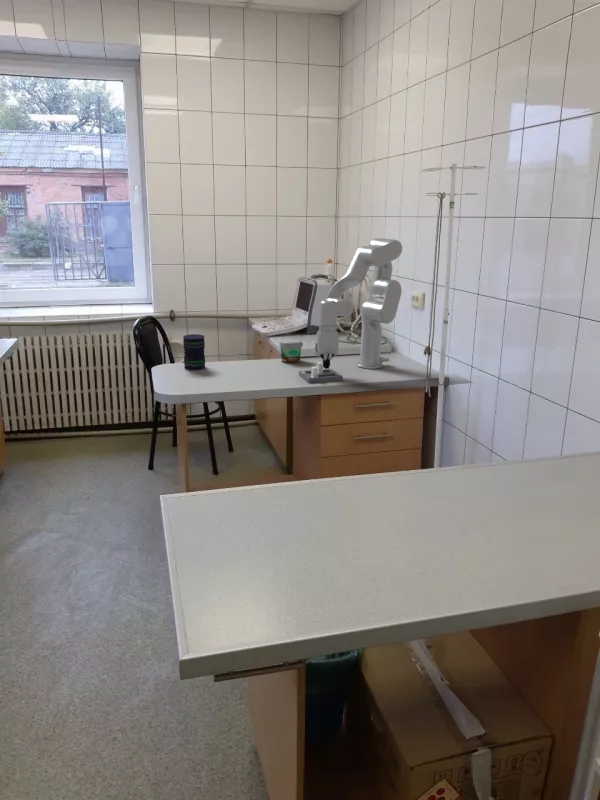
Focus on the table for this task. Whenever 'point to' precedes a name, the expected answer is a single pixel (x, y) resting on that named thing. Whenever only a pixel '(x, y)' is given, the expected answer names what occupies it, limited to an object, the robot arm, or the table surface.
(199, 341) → the storage jar
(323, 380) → the switch bank
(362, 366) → the robot arm
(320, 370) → the tab
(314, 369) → the tab
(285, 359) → the food container
